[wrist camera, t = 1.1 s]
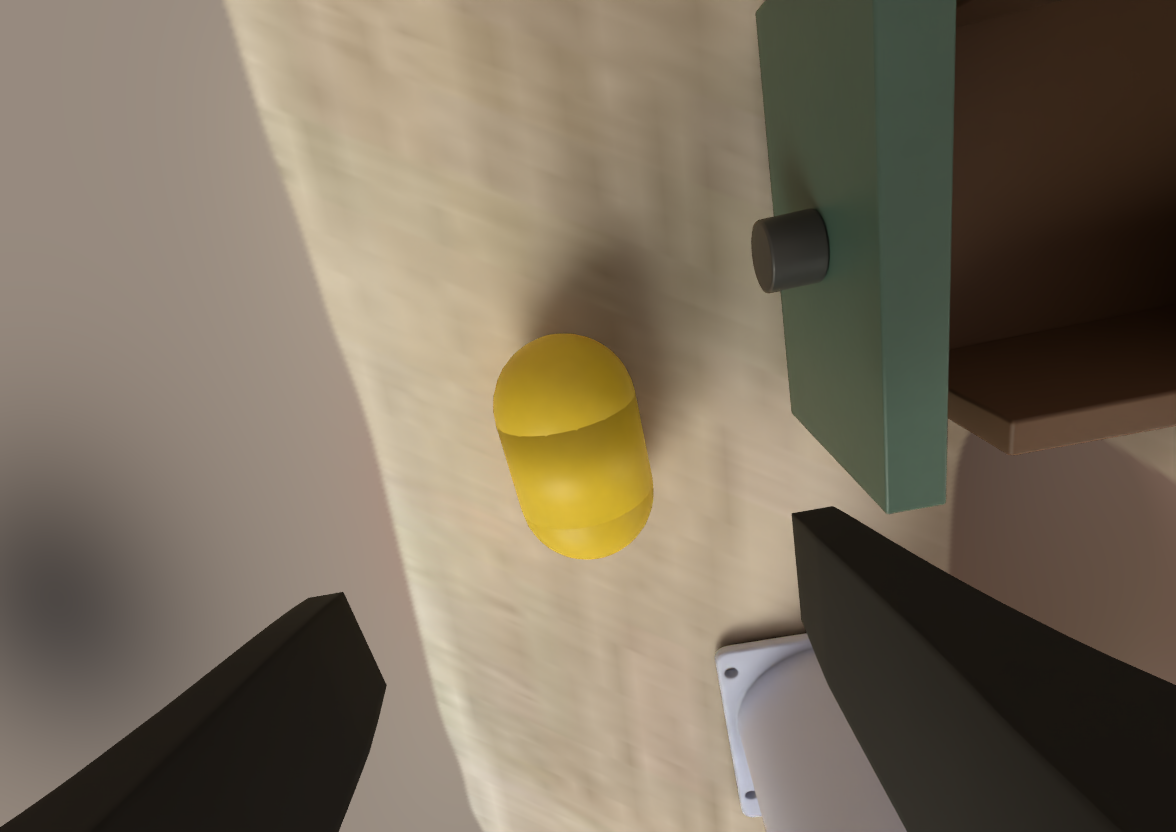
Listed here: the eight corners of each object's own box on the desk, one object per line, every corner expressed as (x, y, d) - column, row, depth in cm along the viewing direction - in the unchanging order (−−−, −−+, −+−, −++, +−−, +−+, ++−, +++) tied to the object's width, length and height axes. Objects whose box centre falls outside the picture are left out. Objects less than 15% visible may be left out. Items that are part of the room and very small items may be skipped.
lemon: (656, 501, 19) (672, 575, 15) (543, 522, 19) (531, 599, 15) (617, 307, 16) (625, 338, 13) (489, 335, 17) (459, 373, 13)
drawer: (751, 421, 17) (826, 526, 11) (703, 24, 13) (782, -103, 8) (1198, 333, 15) (1521, 404, 10) (1286, -128, 12) (1866, -404, 6)
